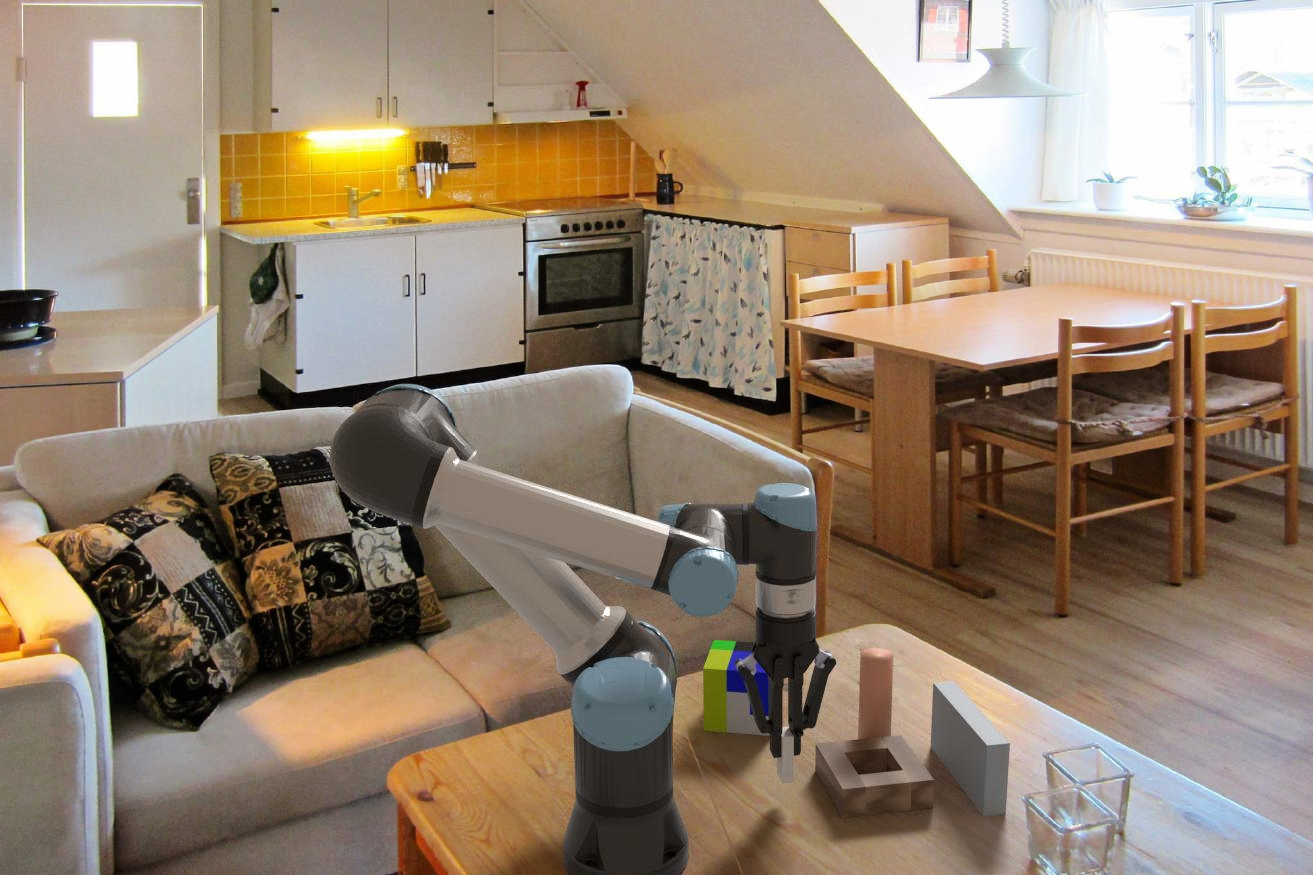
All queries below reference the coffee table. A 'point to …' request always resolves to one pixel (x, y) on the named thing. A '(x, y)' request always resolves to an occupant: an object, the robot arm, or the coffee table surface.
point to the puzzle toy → (731, 690)
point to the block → (873, 776)
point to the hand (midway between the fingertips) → (785, 777)
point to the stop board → (970, 748)
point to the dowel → (875, 693)
